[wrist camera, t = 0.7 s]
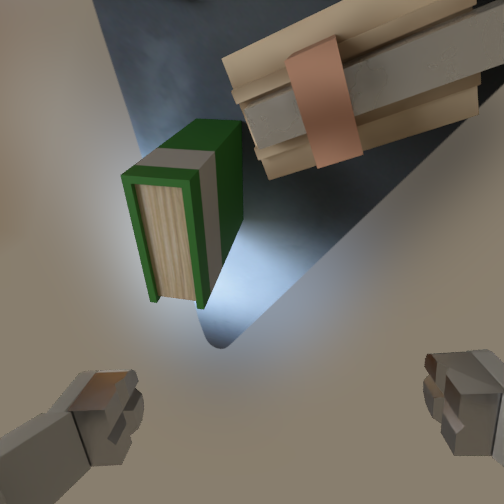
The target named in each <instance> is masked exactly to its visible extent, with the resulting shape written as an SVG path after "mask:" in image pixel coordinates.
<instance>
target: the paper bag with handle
mask: <svg viewBox="0 0 504 504" xmlns="http://www.w3.org/2000/svg"><path fill="white" fill-rule="evenodd" d="M476 4H477V1H476V0H343V1H341V2H338V3H336V4H334V5H332V6H330V7H328V8H326V9H324V10H322V11H320V12H318V13H316V14H314V15H311V16H309V17H307V18H305V19H303V20H301V21H299V22H297V23H295V24H293V25H291V26H289V27H287V28H284V29H282V30H280V31H278V32H276V33H274V34H272V35H270V36H268V37H266V38H264V39H262V40H260V41H257V42H255V43H253V44H251V45H249V46H247V47H245V48H243V49H241V50H239V51H237V52H235V53H233V54H230V55H228V56H226V57H224V58H222V61H223V64H224V66H225V69H226V71H227V74H228V76H229V79H230V82H231V84H232V87H233V90H232V91H231V92H232V95H233V97H234V100H235V102H236V104H239V105H240V107H241V110H242V112H243V115H244V117H245V120H246V122H247V125H248V128H249V130H250V133H251V135H252V138H253V140H254V143H255V148H254V151H255V153H256V156H257V158H258V160H261V161H262V163H263V166H264V169H265V171H266V174H267V176H268V179H269V180H272V179H275V178H278V177H282V176H285V175H288V174H291V173H294V172H298V171H301V170H304V169H307V168H310V167H314V166H317V169H318V168H322V167H325V166H328V165H331V164H334V163H338V162H341V161H344V160H347V159H351V158H354V157H357V156H360V155H363V151H365V150H368V149H371V148H374V147H377V146H381V145H384V144H387V143H390V142H393V141H396V140H400V139H403V138H406V137H409V136H412V135H416V134H419V133H422V132H425V131H428V130H432V129H435V128H438V127H441V126H444V125H447V124H451V123H454V122H457V121H460V120H463V119H467V118H470V117H473V116H476V115H478V114H479V108H478V92H477V86H478V85H480V84H481V72H479V73H476V74H473V75H470V76H467V77H465V78H462V79H459V80H456V81H453V82H450V83H448V84H445V85H442V86H439V87H436V88H433V89H431V90H428V91H425V92H422V93H419V94H416V95H414V96H411V97H408V98H405V99H402V100H399V101H397V102H394V103H391V104H388V105H385V106H382V107H380V108H377V109H374V110H371V111H368V112H365V113H363V114H360V115H357V116H354V113H353V109H352V104H351V100H350V96H349V92H348V88H347V83H346V79H345V75H344V71H343V66H342V64H343V63H346V62H348V61H351V60H353V59H355V58H358V57H360V56H363V55H365V54H368V53H370V52H372V51H375V50H377V49H380V48H382V47H384V46H387V45H389V44H392V43H394V42H397V41H399V40H401V39H404V38H406V37H409V36H411V35H413V34H416V33H418V32H421V31H423V30H426V29H428V28H430V27H433V26H435V25H438V24H440V23H443V22H445V21H447V20H450V19H452V18H455V17H457V16H459V15H462V14H464V13H467V12H469V11H472V6H473V5H476ZM290 85H292V88H293V91H294V95H295V98H296V101H297V104H298V107H299V111H300V114H301V117H302V120H303V124H304V127H305V130H306V134H303V135H300V136H297V137H295V138H292V139H289V140H286V141H283V142H280V143H278V144H275V145H272V146H269V147H266V148H263V149H261V150H259V149H258V146H257V143H256V141H255V138H254V136H253V133H252V131H251V128H250V125H249V123H248V120H247V118H246V115H245V113H244V109H245V108H246V107H247V106H248V105H249V104H250V103H251V102H252V101H254V100H256V99H259V98H261V97H264V96H266V95H268V94H271V93H273V92H276V91H278V90H281V89H283V88H285V87H288V86H290Z"/></svg>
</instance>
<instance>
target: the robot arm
mask: <svg viewBox="0 0 504 504" xmlns="http://www.w3.org/2000/svg"><path fill="white" fill-rule="evenodd" d="M424 367H425V368H426V370H427V371H428V373H429V375H428V376H427V377H426V378H425V379H424V382H423V392H424V398H425V403H426V405H427V407H428V410H429V412H430V414H431V416H432V418H433V419H435V420H437V421H438V422H440V423H441V434H442V435H443V437H444V439H445V441H446V442H447V444H448V446H449V448H450V449H451V451H452V453H453V455H454V456H492V458H493V459H494V460H496V461H497V462H498V463H500V464H501V465H502V466H504V363H503V362H502V361H501V360H500V359H499V358H498V357H497V356H496V355H495V354H494V353H493V352H492V351H489V350H487V349H484V350H473V351H466V352H451V353H436V354H435V353H434V354H427V356H426V358H425V366H424ZM137 383H138V378H137V375H136V372H135V371H134V370H132V369H131V370H130V369H127V370H100V371H84V372H81V373H79V374H78V375H77V377H76V378H75V379H74V380H73V381H72V382H71V384H70V385H69V386H68V387H67V389H66V390H65V391H64V392H63V393H62V395H61V396H60V397H59V398H58V400H57V401H56V402H55V403H54V405H53V406H52V407H51V408H50V409H49V411H48V412H47V413H41V414H39V415H37V416H36V417H34V418H32V419H31V420H29V421H27V422H26V423H24V424H22V425H21V426H19V427H17V428H16V429H14V430H13V431H11V432H9V433H7V434H6V435H4V436H3V437H1V438H0V504H54V503H55V502H56V501H58V500H59V499H60V498H61V497H62V496H63V495H64V494H65V493H66V492H67V491H68V490H69V489H70V488H71V487H72V486H73V485H74V484H75V483H76V482H77V481H78V480H79V479H80V478H81V477H82V476H83V475H84V474H85V473H86V472H87V471H88V470H89V469H90V467H91V466H108V465H122V463H123V461H124V459H125V456H126V454H127V452H128V450H129V448H130V446H131V444H132V441H131V437H130V435H131V434H133V433H134V432H135V431H136V430H137V429H138V428H139V426H140V423H141V421H142V417H143V412H144V401H143V396H142V393H141V392H139V391H138V390H137V389H136V388H135V387H136V385H137Z"/></svg>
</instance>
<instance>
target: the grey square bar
mask: <svg viewBox="0 0 504 504" xmlns="http://www.w3.org/2000/svg"><path fill="white" fill-rule="evenodd" d="M501 64H504V0H496V1H493V2H491V3H488V4H486V5H484V6H481V7H479V8H476V9H474V10H472V11H469V12H467V13H464V14H462V15H459V16H457V17H455V18H452V19H450V20H447V21H445V22H443V23H440V24H438V25H435V26H433V27H430V28H428V29H426V30H423V31H421V32H418V33H416V34H413V35H411V36H409V37H406V38H404V39H401V40H399V41H397V42H394V43H392V44H389V45H387V46H384V47H382V48H380V49H377V50H375V51H372V52H370V53H368V54H365V55H363V56H360V57H358V58H355V59H353V60H351V61H348V62H346V63H343V64H342V66H343V71H344V75H345V79H346V83H347V88H348V92H349V96H350V100H351V104H352V109H353V113H354V116H357V115H360V114H363V113H365V112H368V111H371V110H374V109H377V108H380V107H382V106H385V105H388V104H391V103H394V102H397V101H399V100H402V99H405V98H408V97H411V96H414V95H416V94H419V93H422V92H425V91H428V90H431V89H433V88H436V87H439V86H442V85H445V84H448V83H450V82H453V81H456V80H459V79H462V78H465V77H467V76H470V75H473V74H476V73H479V72H482V71H484V70H487V69H490V68H493V67H496V66H499V65H501ZM244 113H245V115H246V118H247V120H248V123H249V125H250V128H251V131H252V133H253V136H254V138H255V141H256V143H257V146H258V149H259V150H261V149H263V148H266V147H269V146H272V145H275V144H278V143H280V142H283V141H286V140H289V139H292V138H295V137H297V136H300V135H303V134H306V130H305V127H304V124H303V120H302V117H301V114H300V111H299V107H298V104H297V101H296V98H295V95H294V91H293V88H292V85H290V86H288V87H285V88H283V89H281V90H278V91H276V92H273V93H271V94H268V95H266V96H264V97H261V98H259V99H256V100H254V101H252V102H251V103H250V104H249V105H248V106H247V107H246V108H245V109H244Z"/></svg>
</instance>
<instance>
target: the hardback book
mask: <svg viewBox="0 0 504 504" xmlns="http://www.w3.org/2000/svg"><path fill="white" fill-rule="evenodd" d="M121 179H122V183H123V187H124V192H125V196H126V200H127V205H128V209H129V213H130V217H131V221H132V226H133V230H134V234H135V239H136V242H137V247H138V251H139V255H140V260H141V264H142V268H143V273H144V277H145V281H146V285H147V289H148V294H149V298H150V302H154V303H157V302H158V300H159V299H160V297H161V296H164V297H171V298H179V299H186V300H193V301H196V303H197V309H204V308H205V306H206V304H207V301H208V299H209V297H210V295H211V292H212V290H213V288H214V285H215V283H216V281H217V279H218V276H219V274H220V272H221V269H222V267H223V265H224V263H225V260H226V258H227V256H228V253H229V251H230V249H231V247H232V244H233V242H234V240H235V237H236V235H237V233H238V231H239V228H240V226H241V224H242V221H243V174H242V121H236V120H215V119H195V120H194V121H192V122H191V123H190V124H188V125H187V126H186V127H184V128H183V129H182V130H180V131H179V132H178V133H176V134H175V135H174V136H172V137H171V138H170V139H168V140H167V141H166V142H164V143H163V144H162V145H160V146H159V147H158V148H156V149H155V150H154V151H152V152H151V153H150V154H148V155H147V156H146V157H144V158H143V159H142V160H140V161H139V162H138V163H136V164H135V165H134V166H132V167H131V168H129V169H128V170H127V171H126V172H124V173H123V174H122V175H121Z"/></svg>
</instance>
